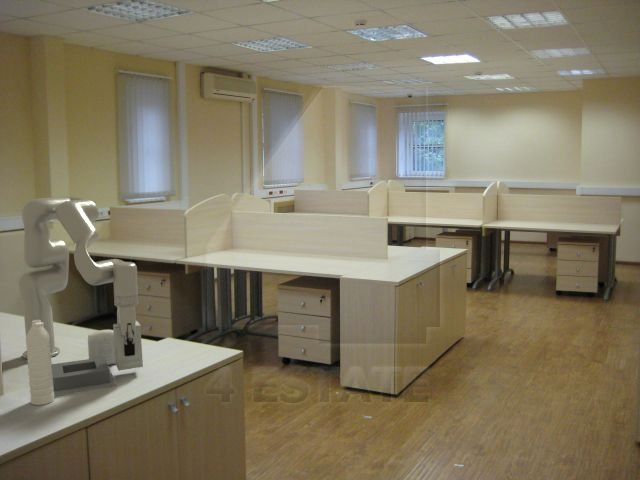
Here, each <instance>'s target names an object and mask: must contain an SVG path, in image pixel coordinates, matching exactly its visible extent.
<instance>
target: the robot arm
mask: <svg viewBox="0 0 640 480" xmlns="http://www.w3.org/2000/svg"><path fill="white" fill-rule="evenodd" d="M21 217H22V223H23V227H24V228H23V229H24V233H23V234H24V235H23V238H24V239H23V240H24V241H23V261H24V264H25V265H26V266H27V267H29V268H32V269H33V270H29V271H26V272H24V273H23V274H21V276H20V277H19V278H18V282H17V285H18V290H19V293H20V296H21V301H22V307H23V316H24V317H23V319H24V320H23V321H24V328H25V329H24V330H25V336H26V335H27V333H28V332H29V330H30V329H31V327H32V321H33V320H40V321H41V322H43V323H44V326H43V327H44V328H45V329H46V331H47V332H48V333H49V336H50V351H51V358H52V357H54V356H58V354H60V352H61V351H60V348H59V347H57V346H56V345H55V344H56V343H55V332H54V319H53V309H52V308H53V307H52V303H50V301H49V299H48V298H47V297H46V296H47V295H49V294H55V293H58V292H61V291H64V290H65V289H66V287H67V285H68V281H69V265H70V263H69V262H70V251H69V248H68V246H67V244H66V242H64V241H65V240H64V241H63V240H62V239H60V238H52V239H51V230H50V227H49V225H48V223H50V222H59V223H60V224H61V226H62V227H63V229H64V230H65V232H66V233H67V235H68V236H69V238H70V239H71V240H72V242H73V243H74V245H75V246H74V251H73V259H74V260H73V261H74V265H75V267H76V270H77V271H78V272H79V274H80V275H81V277H82V278H83V280H84V281H85V282H86V283H87V284H89V285H90V286H101V285H105V284H109V283H113V299H114V301H113V303H114V306H115V307H116V308H117V310H116V318H117V319H116V320H117V321H116V322H117V323H116V324H118V325H119V328H120V336H123V335H125V336H124V337H125V344H124V351H125V356H133V355H135V343H134V336H133V335H135V334H136V321H137V320H136V306H138V305H139V291H138V289H139V288H138V267H137V265H136V263H135V262H131V261H125V260H122V259H117V258H113V259H112V258H111V259H105V260H100V261H96V262H95V261H94V260H93V259H92V258H91V255H89V253H88V248H89V247H91V246H92V245H93V244H95V242H96V241H97V240H98V238H99V231H98V229H96V227H95V226H94V224H93V222H96V221H97V219H98V218H99V208H98V206H97V205H96V203H95V202H93V200H90V199H88V198H81V197H76V196H55V197H54V196H53V197H41V198H35V199H31V200H29V201H27V202H26V203H25V204H24V205H23V208H22V211H21ZM44 267H46V268H44ZM38 268H39V269H38ZM34 269H35V270H34ZM133 331H134V332H133ZM126 333H128V335H126ZM127 337H128V338H127ZM22 357H23V359H26V360H28V358H27V357H28V356H27V350H25V351H23V352H22Z"/></svg>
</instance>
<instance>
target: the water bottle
mask: <svg viewBox="0 0 640 480" xmlns="http://www.w3.org/2000/svg"><path fill="white" fill-rule="evenodd" d="M43 326H44V323H43V322H41V321H40V320H33V321H32V327H31V329H30V330H29V332H28V333H27V335H26V334H25V344H26V351H27V356H28V357H27V358H28V359H27V368H28V380H29V382H28V383H29V394H30V403H31V404H32V405H35V406H41V405H47V404H50V403H52V402H53V401H54V400H55V396H54V392H53V390H54V388H53V380H52V379H53V375H52V367H51V366H52V364H53V363H52V357H51V351H50V336H49V333H48V332H47V331H46V329H45V328H44V327H43Z"/></svg>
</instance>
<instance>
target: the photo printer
mask: <svg viewBox="0 0 640 480" xmlns="http://www.w3.org/2000/svg"><path fill="white" fill-rule="evenodd" d="M87 349H88V359H94V358H101V357H105V360H106V362H107V365H108V366H110V365H116V358H115V344H114V331H113V329H100V330H97V331H96V330H95V331H93V332H91V333H90V334H88V336H87Z"/></svg>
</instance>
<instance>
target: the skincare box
mask: <svg viewBox="0 0 640 480" xmlns="http://www.w3.org/2000/svg"><path fill="white" fill-rule="evenodd" d="M112 327H113V329H112V330H113V331H114V344H115V358H116V364H115V365H116V368H117V370H118V371H120V372H121V371H124V370H131V369H137V368H143V366H144V364H143V362H144V361H143V345H142V343H143V342H142V329H141V327H142V325H141V324H140V323H139V321H138V320H136V334H135V335H133V336H134V343H135V355H133V356H125V351H124V344H125V337H124V336H125V335H123V336H120V328H119V325H118V324H117V323H112ZM133 332H134V331H133ZM126 335H128V333H126ZM127 338H128V337H127Z"/></svg>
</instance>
